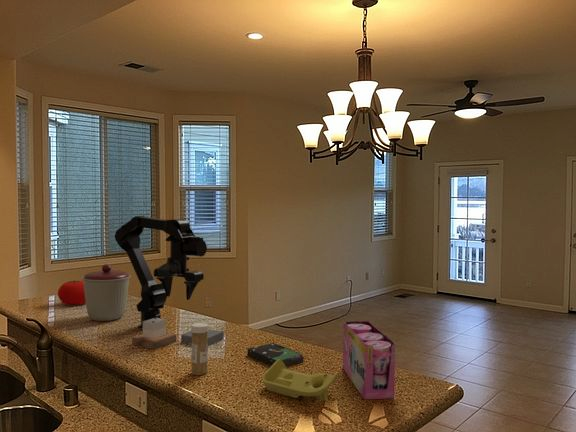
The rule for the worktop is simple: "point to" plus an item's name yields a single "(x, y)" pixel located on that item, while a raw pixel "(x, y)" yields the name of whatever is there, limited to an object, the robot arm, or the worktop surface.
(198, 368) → the sprinkles bottle
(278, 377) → the plastic component
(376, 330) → the gum box
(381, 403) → the worktop surface
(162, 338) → the brown square tray
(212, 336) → the slate stand
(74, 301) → the tomato
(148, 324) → the two-plate housing
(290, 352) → the disk drive
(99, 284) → the canister
